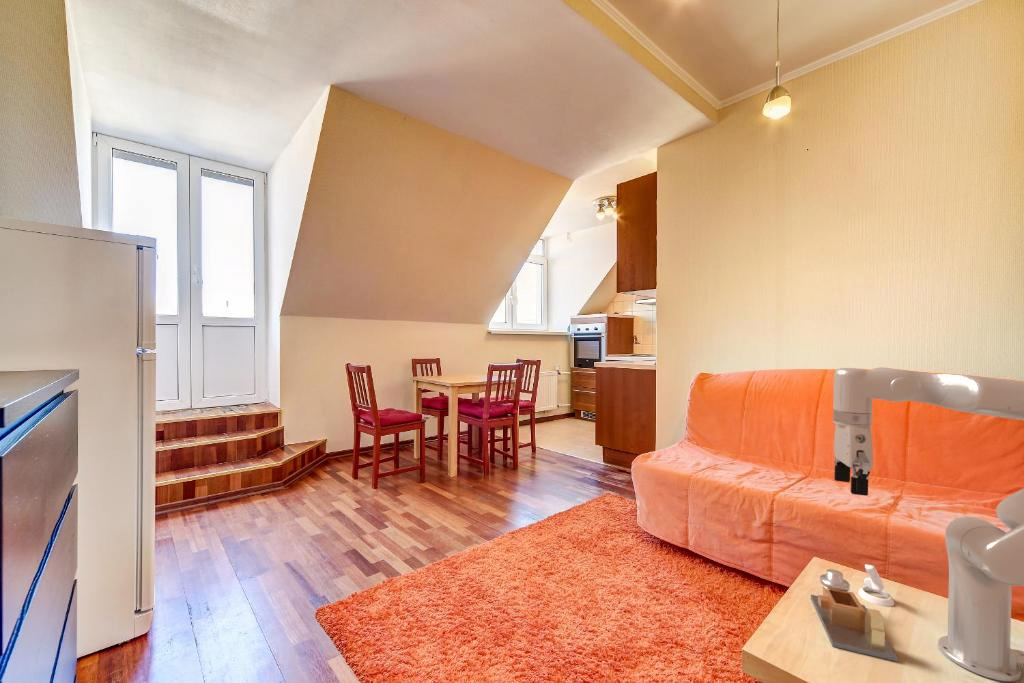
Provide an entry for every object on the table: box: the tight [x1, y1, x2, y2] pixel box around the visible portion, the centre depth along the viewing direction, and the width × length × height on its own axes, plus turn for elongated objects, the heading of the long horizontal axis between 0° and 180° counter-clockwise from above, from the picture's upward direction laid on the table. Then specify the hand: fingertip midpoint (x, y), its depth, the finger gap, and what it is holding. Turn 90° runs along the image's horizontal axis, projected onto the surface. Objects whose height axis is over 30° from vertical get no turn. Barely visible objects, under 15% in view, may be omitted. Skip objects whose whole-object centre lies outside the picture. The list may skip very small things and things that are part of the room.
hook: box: [857, 564, 895, 607], centre depth 119 cm, size 8×12×7 cm
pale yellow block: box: [865, 607, 886, 650], centre depth 100 cm, size 2×4×7 cm, turn 157°
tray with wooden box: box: [810, 568, 898, 663], centre depth 108 cm, size 12×22×9 cm, turn 157°
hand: (850, 487), depth 105 cm, fingers open, 9 cm apart
